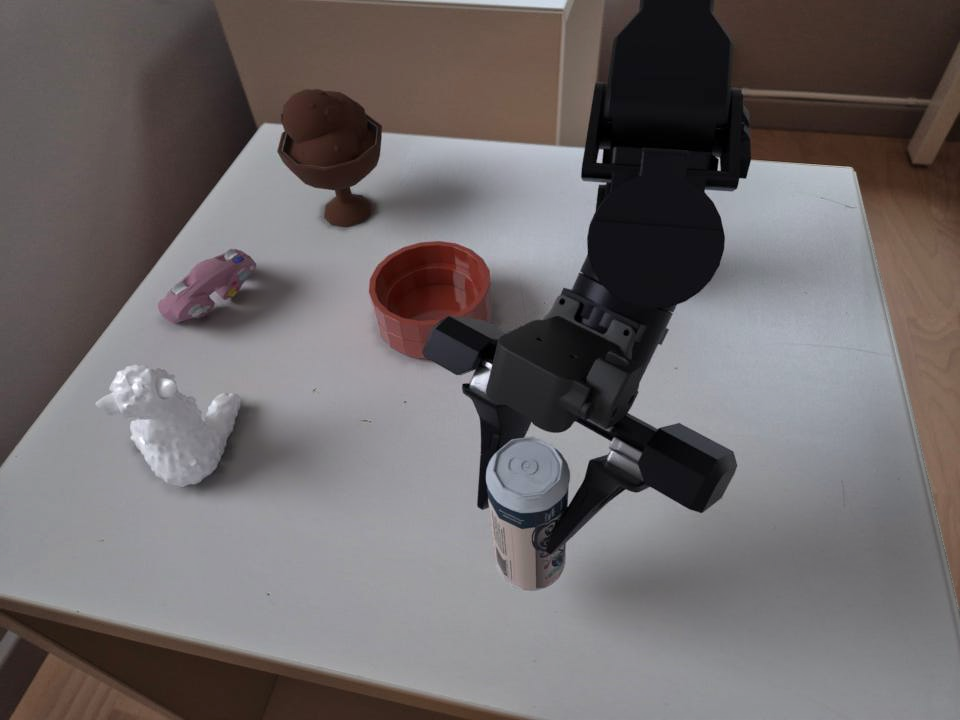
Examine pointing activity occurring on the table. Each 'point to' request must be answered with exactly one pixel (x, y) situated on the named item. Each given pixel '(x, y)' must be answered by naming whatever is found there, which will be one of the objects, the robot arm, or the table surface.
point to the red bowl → (427, 292)
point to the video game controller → (207, 285)
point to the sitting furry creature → (171, 423)
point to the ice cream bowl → (331, 149)
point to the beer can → (527, 511)
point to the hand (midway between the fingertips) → (515, 529)
